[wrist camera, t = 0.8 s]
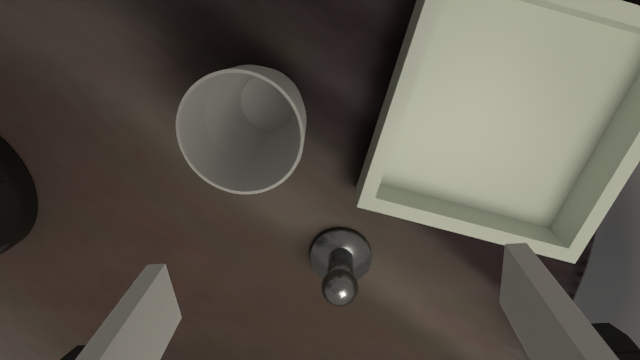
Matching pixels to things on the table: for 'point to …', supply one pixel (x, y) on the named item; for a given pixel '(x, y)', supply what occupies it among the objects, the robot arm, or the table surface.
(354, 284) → the stud post
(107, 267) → the table surface
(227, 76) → the cup
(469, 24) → the bin
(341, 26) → the table surface
